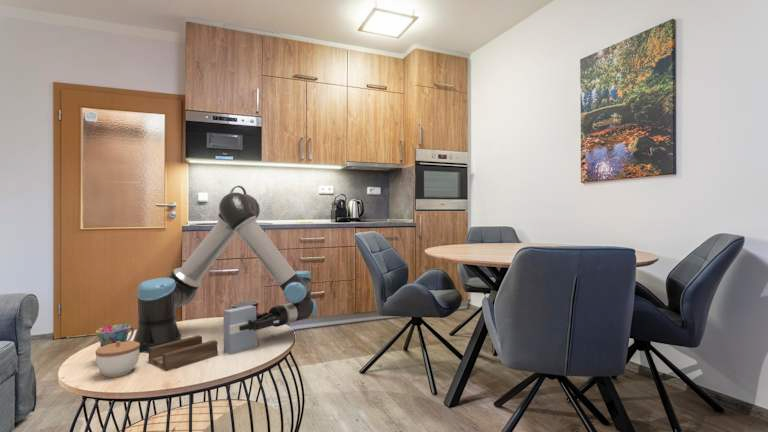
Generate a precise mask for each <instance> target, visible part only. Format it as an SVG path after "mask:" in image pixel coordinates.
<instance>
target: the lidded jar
mask: <svg viewBox="0 0 768 432" xmlns="http://www.w3.org/2000/svg"><path fill="white" fill-rule="evenodd" d="M139 347H140V343H139V342H135V341H133V340H130V341H125V342H120V341H116V343H112V344H108V345H105V346H102V347H101V346H100V347H98V348H96V349H95V362H96V366H97V369H98V370H99V372H100V373H101V374H103V375H105V377H106V378H118V377H122V376H125V375H128V374H130V372H131V371H132V370H133V369H134V368H135V366H136V364H137V363H138V360H139V357H140V352H139Z"/></svg>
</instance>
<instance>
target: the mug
mask: <svg viewBox="0 0 768 432" xmlns="http://www.w3.org/2000/svg"><path fill="white" fill-rule="evenodd" d="M130 330H131V333H130ZM134 332H135V330H134V328H133V326H132V325H130V324H127V323H125V324H122V323H121V324H114V325H108V326H103V327H100V328H98V329H96V330H95V334H96V335H97V337H98V340H99V344H100V347H102V346H105V345H108V344H112V343H116V341H120V342H125V341H131V339H132V338H133V335H134ZM129 333H130V335H129ZM128 336H129V337H128Z"/></svg>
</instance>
